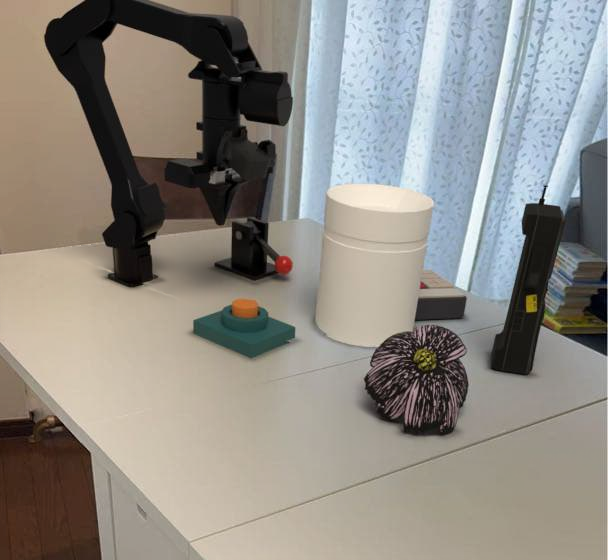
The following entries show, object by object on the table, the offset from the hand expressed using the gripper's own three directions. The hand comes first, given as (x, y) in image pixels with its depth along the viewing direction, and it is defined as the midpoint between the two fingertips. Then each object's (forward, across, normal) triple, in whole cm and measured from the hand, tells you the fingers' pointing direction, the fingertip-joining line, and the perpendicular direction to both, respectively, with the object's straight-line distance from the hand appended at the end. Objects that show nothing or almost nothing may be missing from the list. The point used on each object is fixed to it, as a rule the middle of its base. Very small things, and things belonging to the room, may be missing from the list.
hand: (220, 225), depth 128 cm
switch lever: (+8, +14, +2) cm, 16 cm away
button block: (+12, -9, -14) cm, 21 cm away
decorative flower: (+12, -10, -46) cm, 49 cm away
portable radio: (+12, +14, -48) cm, 51 cm away
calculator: (+12, +25, -24) cm, 37 cm away
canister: (+12, +9, -24) cm, 28 cm away
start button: (+8, -9, -14) cm, 19 cm away
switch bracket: (+12, +14, +6) cm, 19 cm away
